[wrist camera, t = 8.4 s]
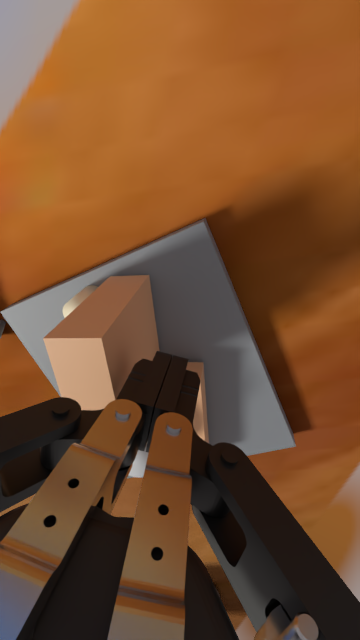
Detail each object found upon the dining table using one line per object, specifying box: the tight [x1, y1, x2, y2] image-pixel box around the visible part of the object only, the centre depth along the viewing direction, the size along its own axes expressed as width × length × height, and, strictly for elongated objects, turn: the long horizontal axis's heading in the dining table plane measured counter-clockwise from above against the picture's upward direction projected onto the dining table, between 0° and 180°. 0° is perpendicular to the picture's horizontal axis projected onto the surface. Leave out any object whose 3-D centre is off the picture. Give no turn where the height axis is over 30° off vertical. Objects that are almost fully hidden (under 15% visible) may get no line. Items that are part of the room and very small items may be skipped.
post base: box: [1, 218, 296, 478], centre depth 21 cm, size 17×15×6 cm
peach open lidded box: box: [43, 275, 209, 443], centre depth 19 cm, size 14×8×8 cm, turn 5°
